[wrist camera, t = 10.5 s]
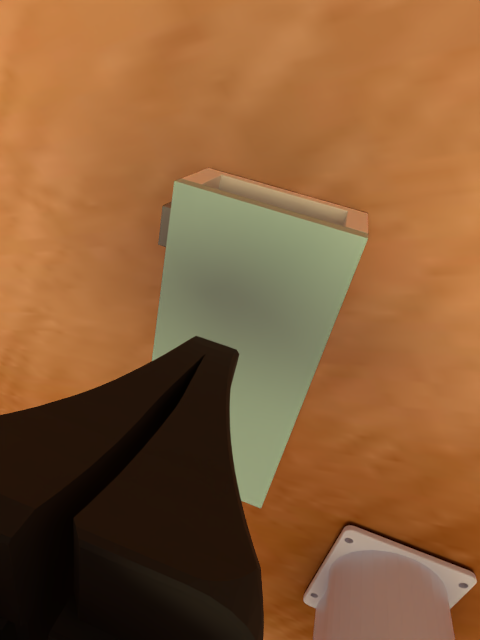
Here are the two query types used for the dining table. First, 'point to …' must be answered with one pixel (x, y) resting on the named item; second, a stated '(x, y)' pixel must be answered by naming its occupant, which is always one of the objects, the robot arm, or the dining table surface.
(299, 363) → the panel
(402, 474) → the dining table surface
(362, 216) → the cream piece
